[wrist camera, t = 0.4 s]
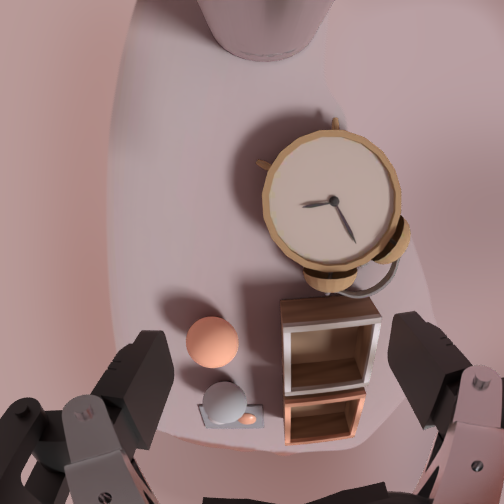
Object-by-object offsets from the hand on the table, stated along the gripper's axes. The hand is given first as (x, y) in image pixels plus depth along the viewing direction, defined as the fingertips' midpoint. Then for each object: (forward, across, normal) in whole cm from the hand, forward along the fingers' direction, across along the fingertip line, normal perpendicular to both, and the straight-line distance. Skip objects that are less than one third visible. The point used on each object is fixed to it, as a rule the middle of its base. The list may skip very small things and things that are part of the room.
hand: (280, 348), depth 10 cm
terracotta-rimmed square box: (+19, -5, +21) cm, 29 cm away
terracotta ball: (+15, +6, +10) cm, 19 cm away
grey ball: (+16, +6, +19) cm, 25 cm away
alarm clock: (+18, -6, -1) cm, 19 cm away
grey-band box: (+18, -5, +11) cm, 22 cm away
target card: (+19, +6, +25) cm, 32 cm away
